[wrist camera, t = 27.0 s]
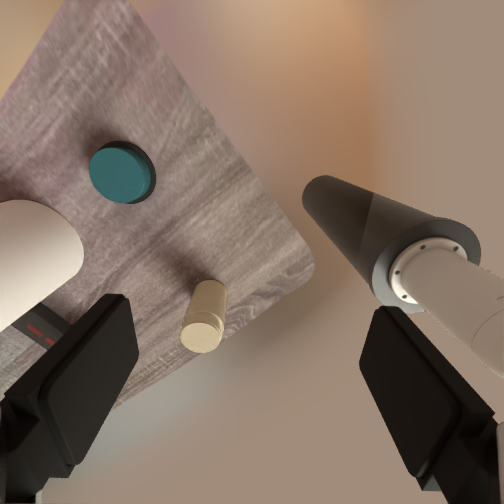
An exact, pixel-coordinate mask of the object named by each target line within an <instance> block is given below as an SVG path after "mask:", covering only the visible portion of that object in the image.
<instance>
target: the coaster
mask: <svg viewBox="0 0 504 504" xmlns="http://www.w3.org/2000/svg"><path fill="white" fill-rule="evenodd" d="M114 147H122V148H127V149H130V150H132V151H134V152H135V153H137V154H138V155H139V156H140V157H141V158H142V159H143V160H144V161H145V163H146V164H147V166H148V169H149V172H150V185H149V188H148V190H147V191H146V193H145V194H144V195H143V196H141V197H139V198H137V199H135V200H133V201H131V202H128V203H127V204H135V203H139V202H142V201H144V200H145V199H147V198H148V197H149V196H150V195H151V194H152V192H153V190H154V188H155V184H156V173H155V169H154V166H153V164H152V162H151V160H150V159H149V157H148V156H147V155H146V154H145V152H143V151H142V150H141V149H140V148H138V147H137V146H135V145H133V144H131V143H128V142H123V141H114V142H110V143H107V144H105V145H104V146H102V147H101V148H100V149H99V150H101V149H104V148H114ZM99 150H98V151H99Z"/></svg>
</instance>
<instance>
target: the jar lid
mask: <svg viewBox="0 0 504 504" xmlns="http://www.w3.org/2000/svg"><path fill="white" fill-rule="evenodd" d="M89 174H90V178H91V181H92V183H93V185H94V186H95V188H96V189H97V190H98V192H99V193H100V194H101V195H103V196H104V197H105V198H107V199H109V200H111V201H114V202H118V203H128V202H131V201H133V200H135V199H137V198H139V197H141V196H143V195H144V194H145V193H146V191H147V190H148V188H149V185H150V172H149V169H148V166H147V164H146V163H145V161H144V160H143V159H142V158H141V157H140V156H139V155H138V154H137V153H135V152H134V151H132V150H130V149H127V148H122V147H114V148H104V149H101V150H99V151H98V152H96V153H95V154H94V156H93V157H92V159H91V161H90V165H89Z"/></svg>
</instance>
